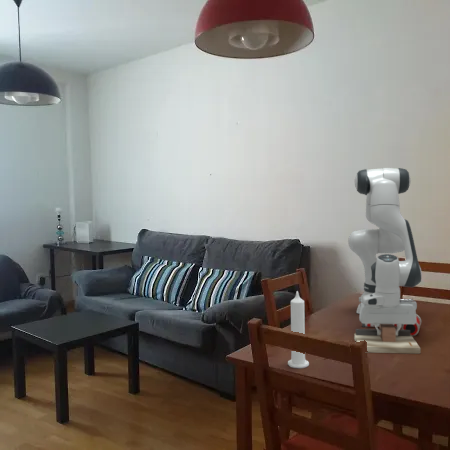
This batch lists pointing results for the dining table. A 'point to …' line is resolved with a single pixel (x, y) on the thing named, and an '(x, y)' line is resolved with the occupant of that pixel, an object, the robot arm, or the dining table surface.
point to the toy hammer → (404, 326)
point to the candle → (297, 330)
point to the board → (376, 344)
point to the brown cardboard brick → (388, 332)
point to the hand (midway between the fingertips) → (387, 335)
